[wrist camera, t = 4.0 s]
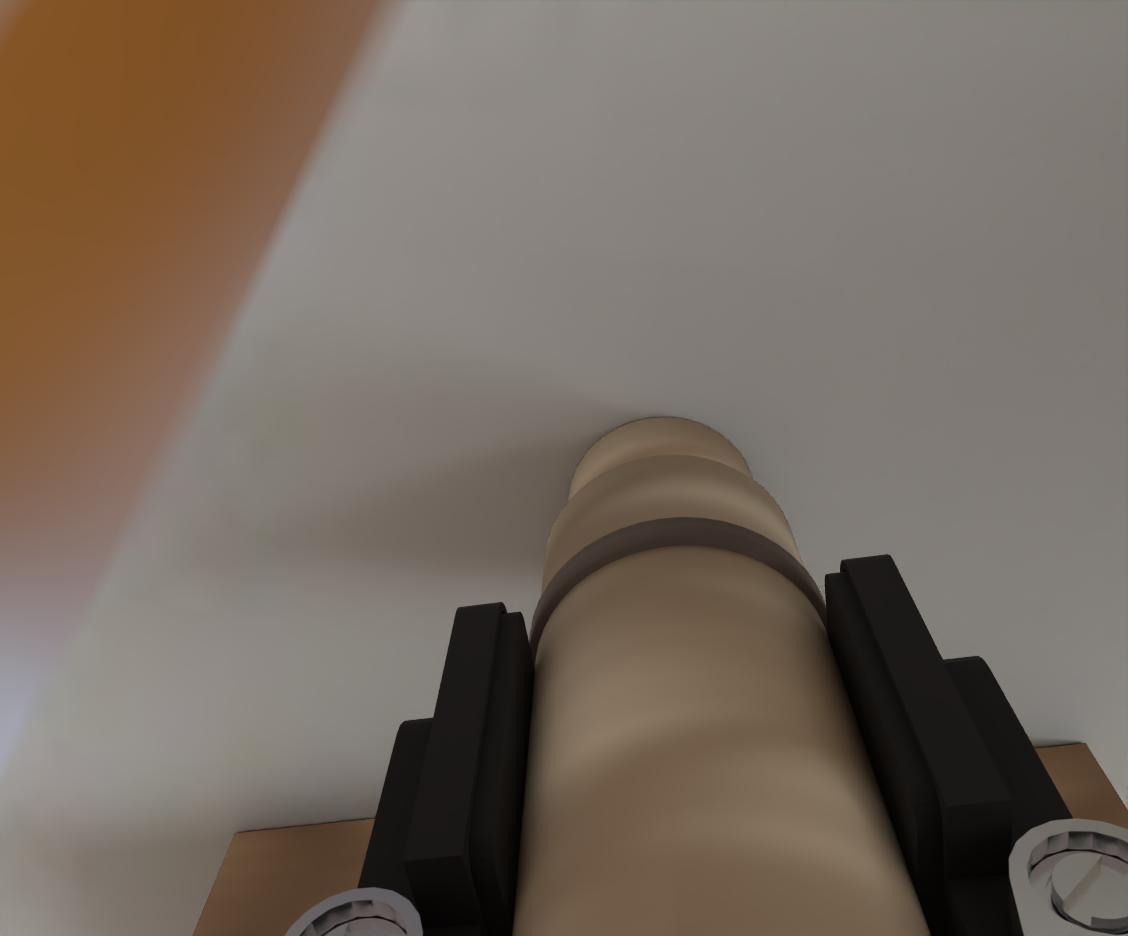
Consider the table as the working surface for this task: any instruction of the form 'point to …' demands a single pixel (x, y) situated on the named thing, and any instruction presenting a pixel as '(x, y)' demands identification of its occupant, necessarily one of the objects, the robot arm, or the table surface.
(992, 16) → the table surface
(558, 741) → the peg
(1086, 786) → the board
